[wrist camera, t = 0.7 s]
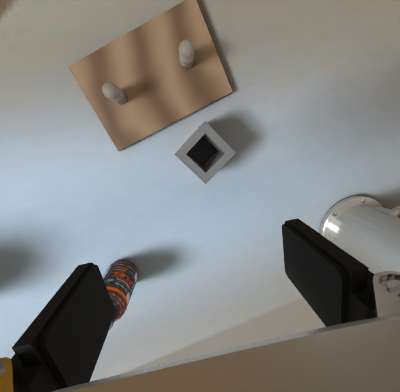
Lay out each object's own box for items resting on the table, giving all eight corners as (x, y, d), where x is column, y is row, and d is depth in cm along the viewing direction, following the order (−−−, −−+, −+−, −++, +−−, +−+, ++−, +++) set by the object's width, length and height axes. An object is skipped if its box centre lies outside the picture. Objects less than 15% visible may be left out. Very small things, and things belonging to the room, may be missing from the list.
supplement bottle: (143, 264, 39) (126, 313, 28) (133, 288, 40) (113, 343, 29) (112, 254, 38) (83, 301, 27) (103, 279, 39) (72, 333, 28)
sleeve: (201, 124, 32) (205, 120, 26) (226, 150, 34) (236, 152, 28) (176, 151, 33) (174, 154, 27) (202, 175, 35) (205, 183, 29)
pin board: (194, 1, 28) (196, -37, 22) (230, 93, 32) (241, 82, 26) (72, 69, 29) (43, 51, 23) (120, 150, 33) (106, 153, 27)
